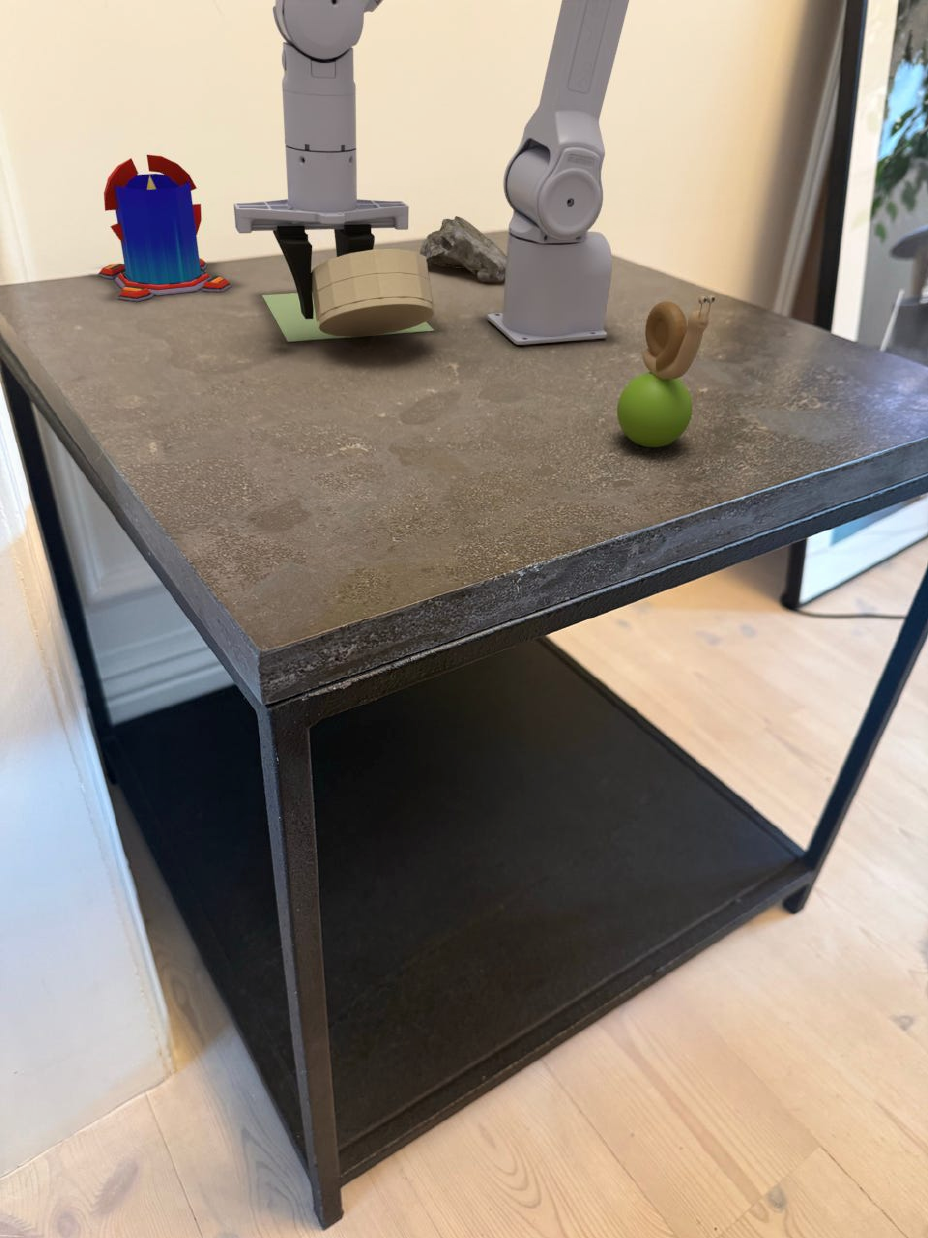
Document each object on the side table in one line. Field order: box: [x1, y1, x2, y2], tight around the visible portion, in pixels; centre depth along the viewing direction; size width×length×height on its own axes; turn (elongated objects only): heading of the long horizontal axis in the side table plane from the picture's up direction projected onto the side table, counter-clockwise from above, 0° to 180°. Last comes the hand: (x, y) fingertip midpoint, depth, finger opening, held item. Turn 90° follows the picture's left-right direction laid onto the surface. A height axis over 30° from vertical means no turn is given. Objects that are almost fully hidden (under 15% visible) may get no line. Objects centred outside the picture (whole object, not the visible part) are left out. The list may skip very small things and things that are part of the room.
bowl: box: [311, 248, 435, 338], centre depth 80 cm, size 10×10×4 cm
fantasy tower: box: [97, 154, 233, 303], centre depth 93 cm, size 12×12×12 cm
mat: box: [261, 292, 435, 343], centre depth 90 cm, size 14×14×1 cm
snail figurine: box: [616, 294, 716, 448], centre depth 65 cm, size 5×6×12 cm
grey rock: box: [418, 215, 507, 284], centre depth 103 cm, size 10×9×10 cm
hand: (326, 314), depth 82 cm, fingers closed on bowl, 3 cm apart
